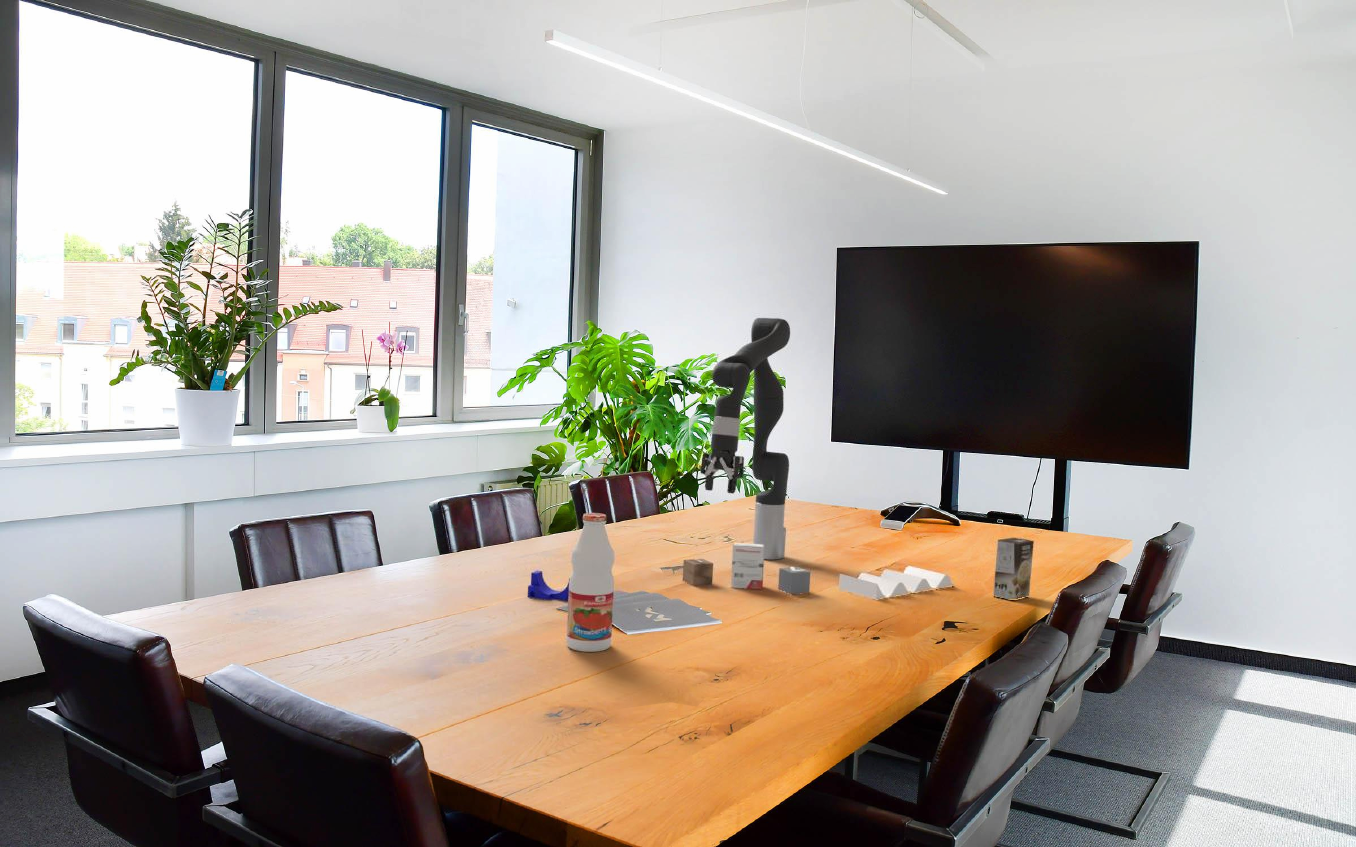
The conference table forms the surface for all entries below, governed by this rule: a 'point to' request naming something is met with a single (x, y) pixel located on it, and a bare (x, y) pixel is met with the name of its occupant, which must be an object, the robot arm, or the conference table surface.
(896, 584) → the white taco holder
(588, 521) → the fruit juice
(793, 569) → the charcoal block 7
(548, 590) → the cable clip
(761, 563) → the ink box
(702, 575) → the walnut block
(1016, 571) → the coffee box
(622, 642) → the conference table surface
